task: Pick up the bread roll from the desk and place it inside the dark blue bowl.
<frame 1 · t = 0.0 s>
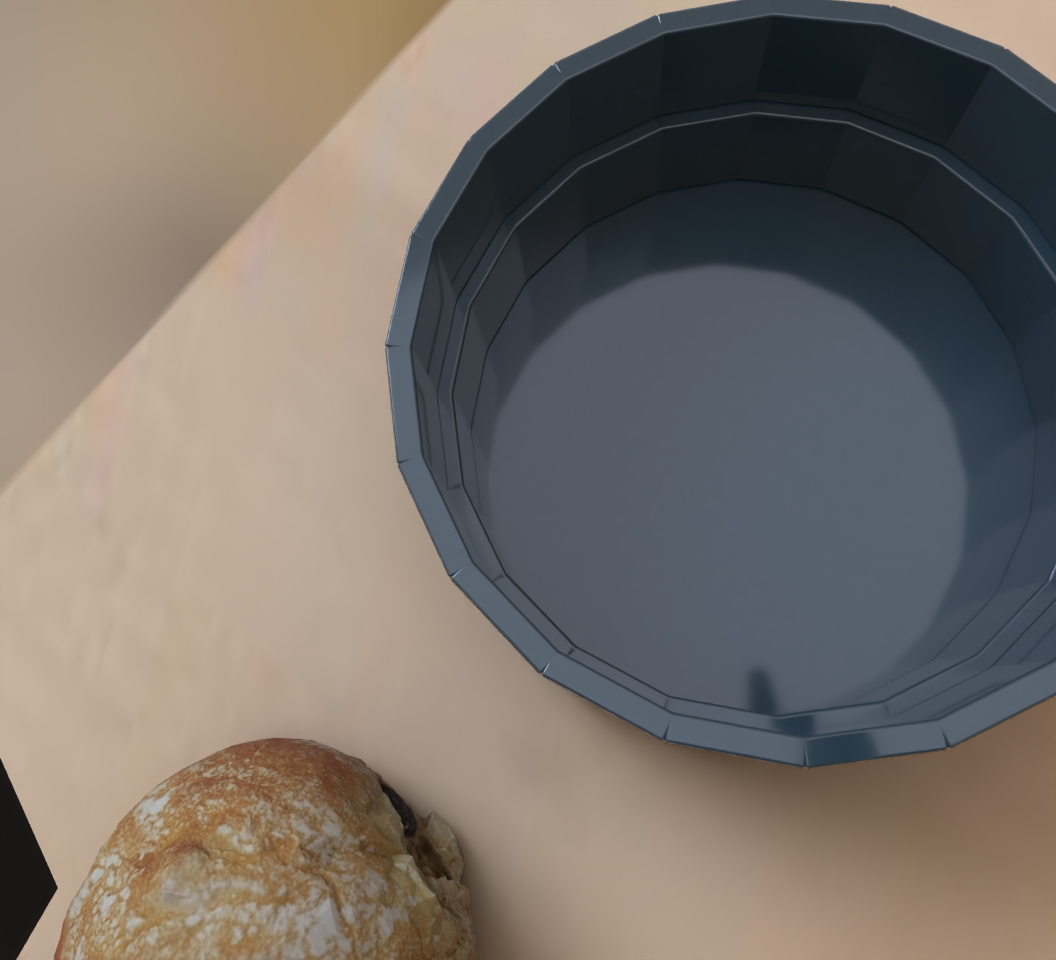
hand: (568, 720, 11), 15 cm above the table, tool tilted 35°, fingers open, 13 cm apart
dark blue bowl: (743, 435, 27), on the table
bread roll: (293, 954, 25), on the table
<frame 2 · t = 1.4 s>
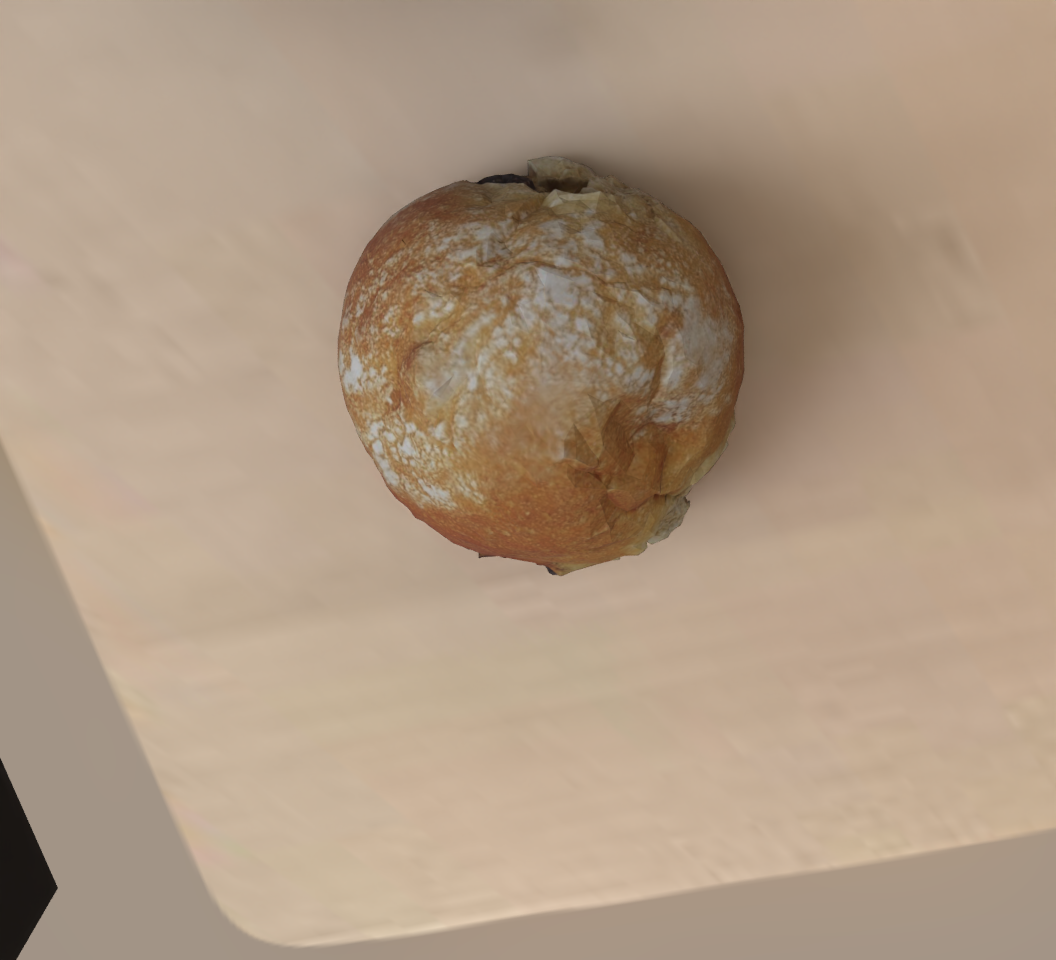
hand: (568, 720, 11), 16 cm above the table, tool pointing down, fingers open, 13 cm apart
bread roll: (546, 358, 26), on the table
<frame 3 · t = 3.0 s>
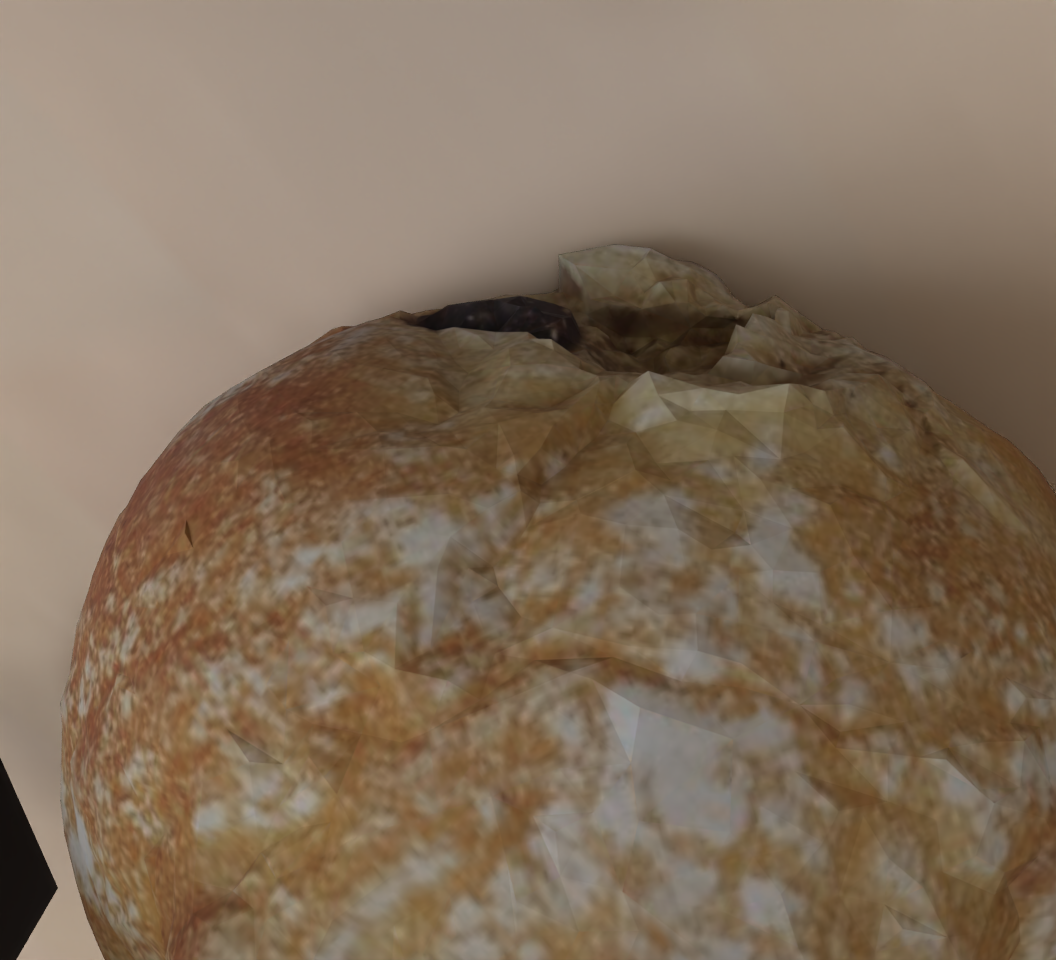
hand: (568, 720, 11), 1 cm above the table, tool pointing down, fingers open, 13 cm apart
bread roll: (593, 670, 12), on the table
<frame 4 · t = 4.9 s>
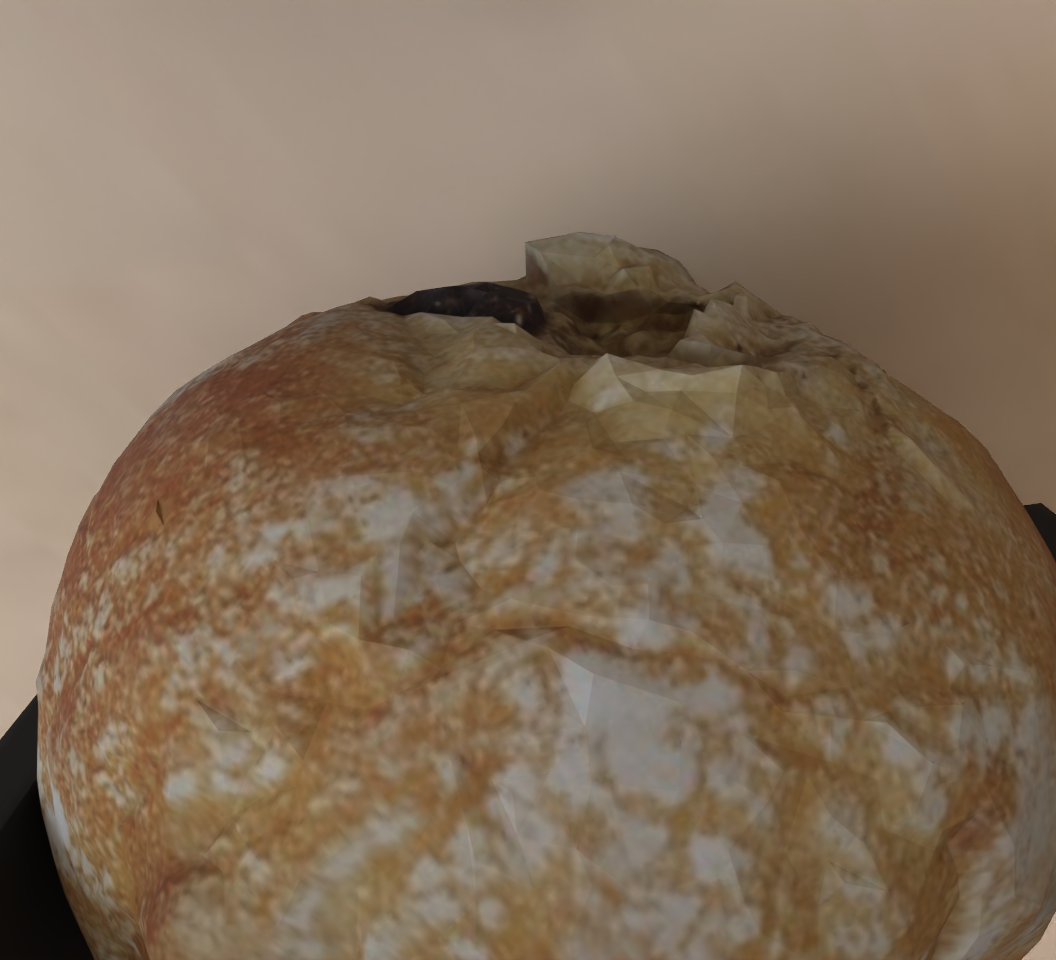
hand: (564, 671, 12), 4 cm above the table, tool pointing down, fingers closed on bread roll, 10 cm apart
bread roll: (564, 651, 12), point 3 cm above the table, touching gripper
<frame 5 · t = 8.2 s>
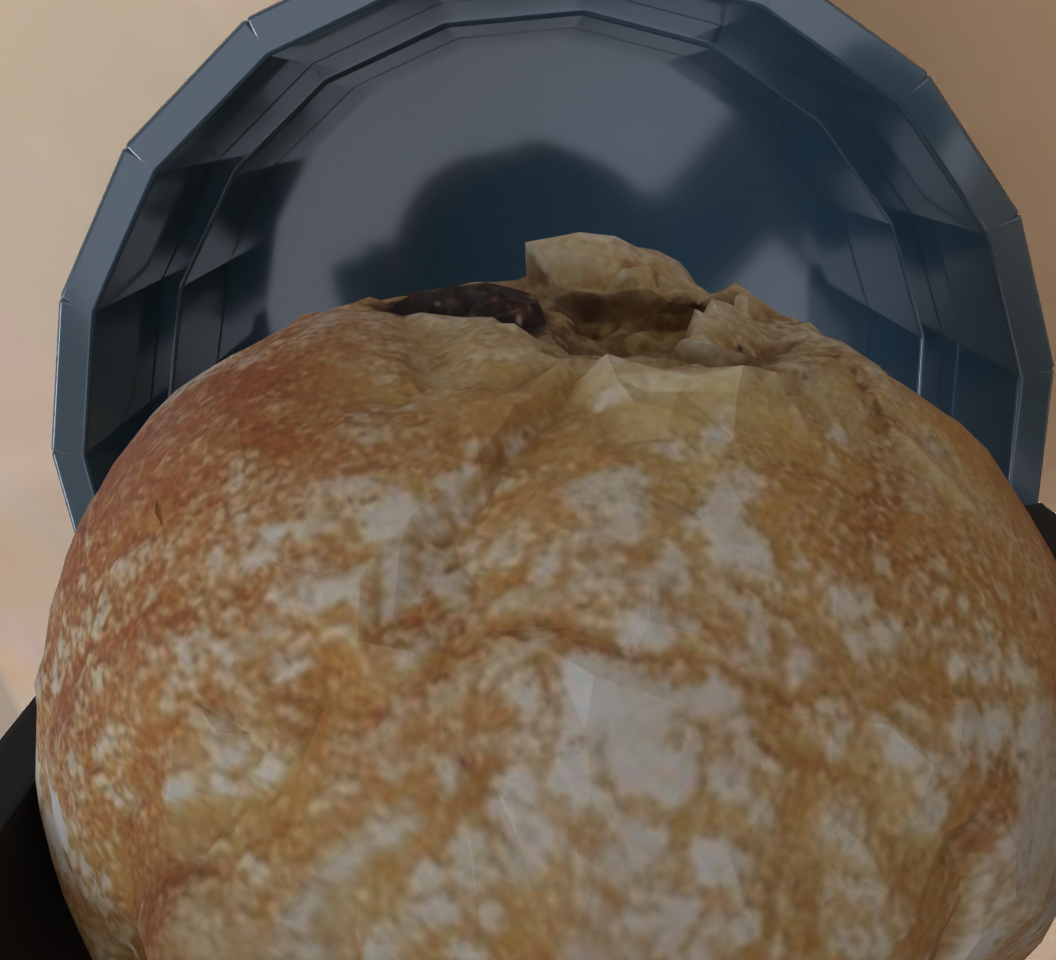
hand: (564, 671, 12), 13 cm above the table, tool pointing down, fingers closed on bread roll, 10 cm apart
dark blue bowl: (543, 377, 23), on the table
bread roll: (564, 652, 12), point 12 cm above the table, touching gripper
when the fingers open (3 cm above the table, at t = 12.3 s): bread roll stays where it is, resting on dark blue bowl.
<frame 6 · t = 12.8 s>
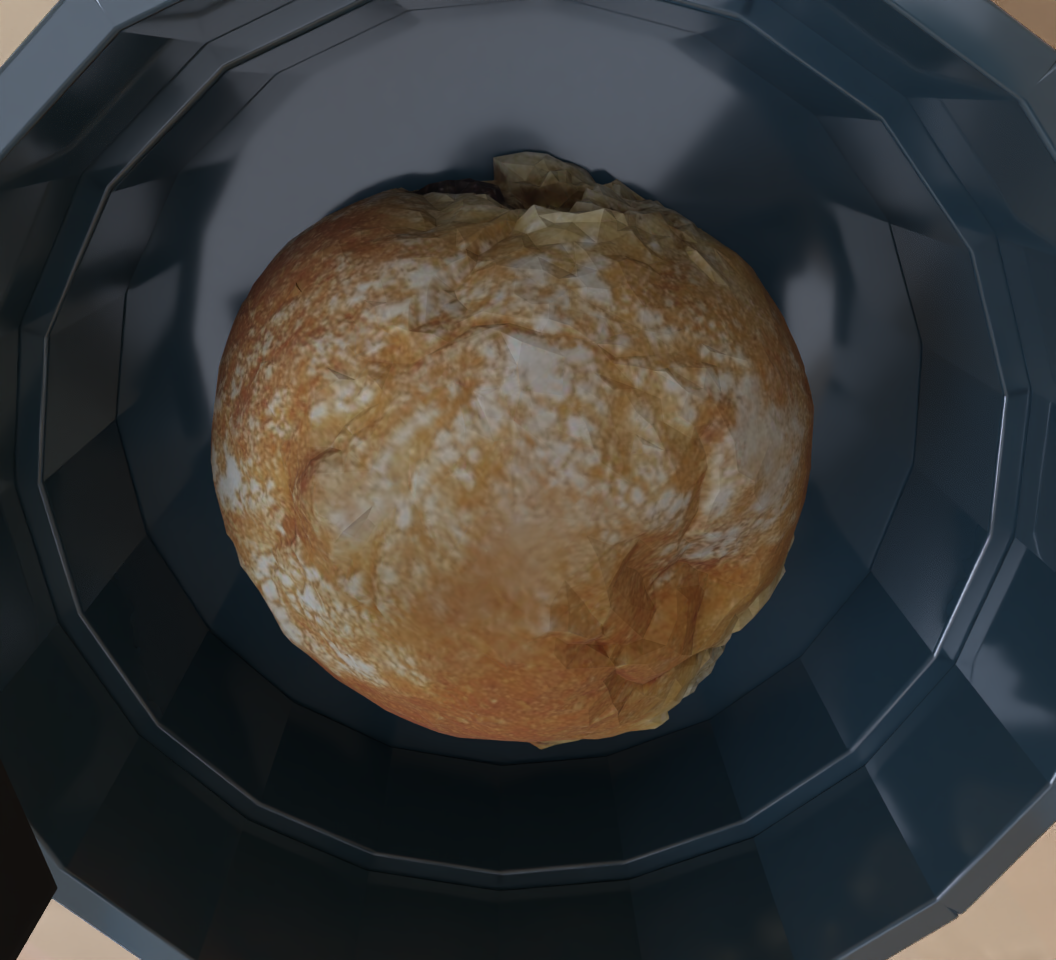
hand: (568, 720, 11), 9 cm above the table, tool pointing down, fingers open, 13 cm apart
dark blue bowl: (522, 430, 19), on the table
bread roll: (522, 435, 19), resting on dark blue bowl
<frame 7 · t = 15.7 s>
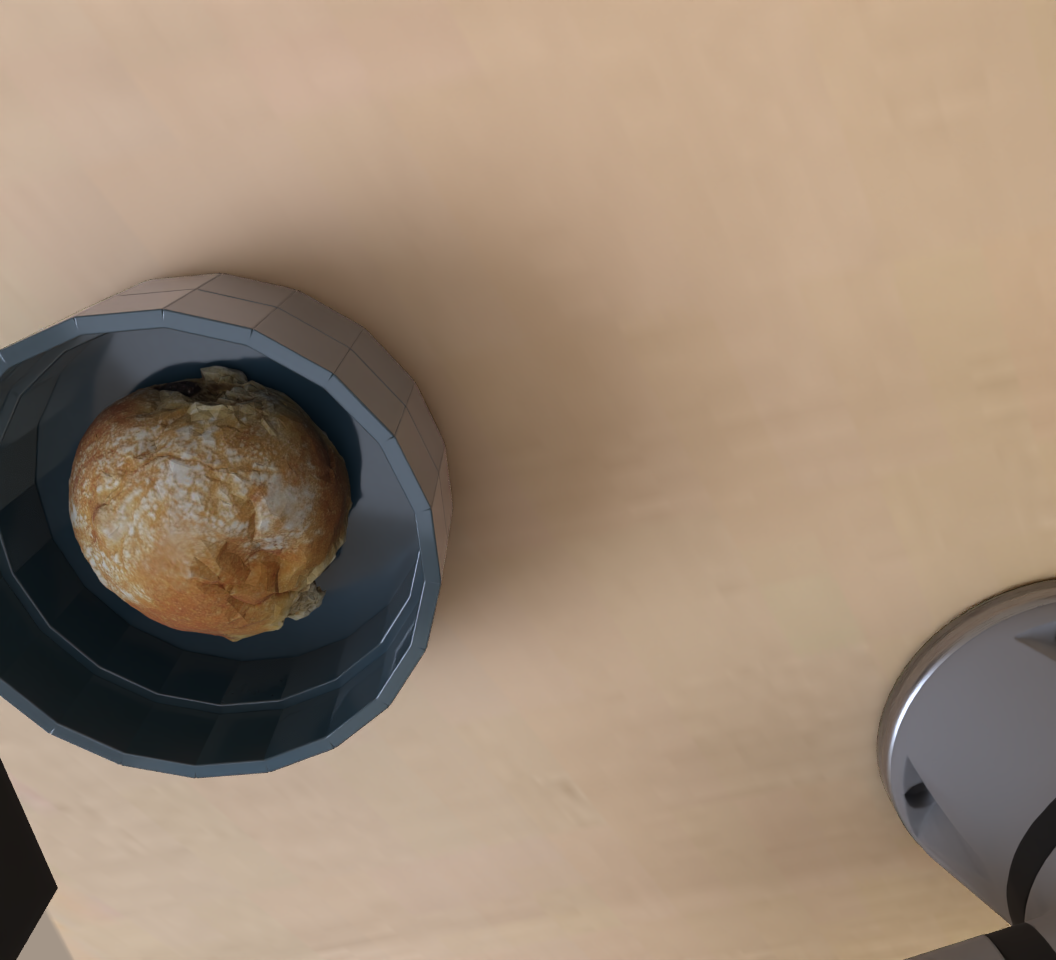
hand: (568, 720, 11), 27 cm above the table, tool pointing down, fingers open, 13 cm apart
dark blue bowl: (237, 488, 38), on the table
bread roll: (234, 490, 38), resting on dark blue bowl
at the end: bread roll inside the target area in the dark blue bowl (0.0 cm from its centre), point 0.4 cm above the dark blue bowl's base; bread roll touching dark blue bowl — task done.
